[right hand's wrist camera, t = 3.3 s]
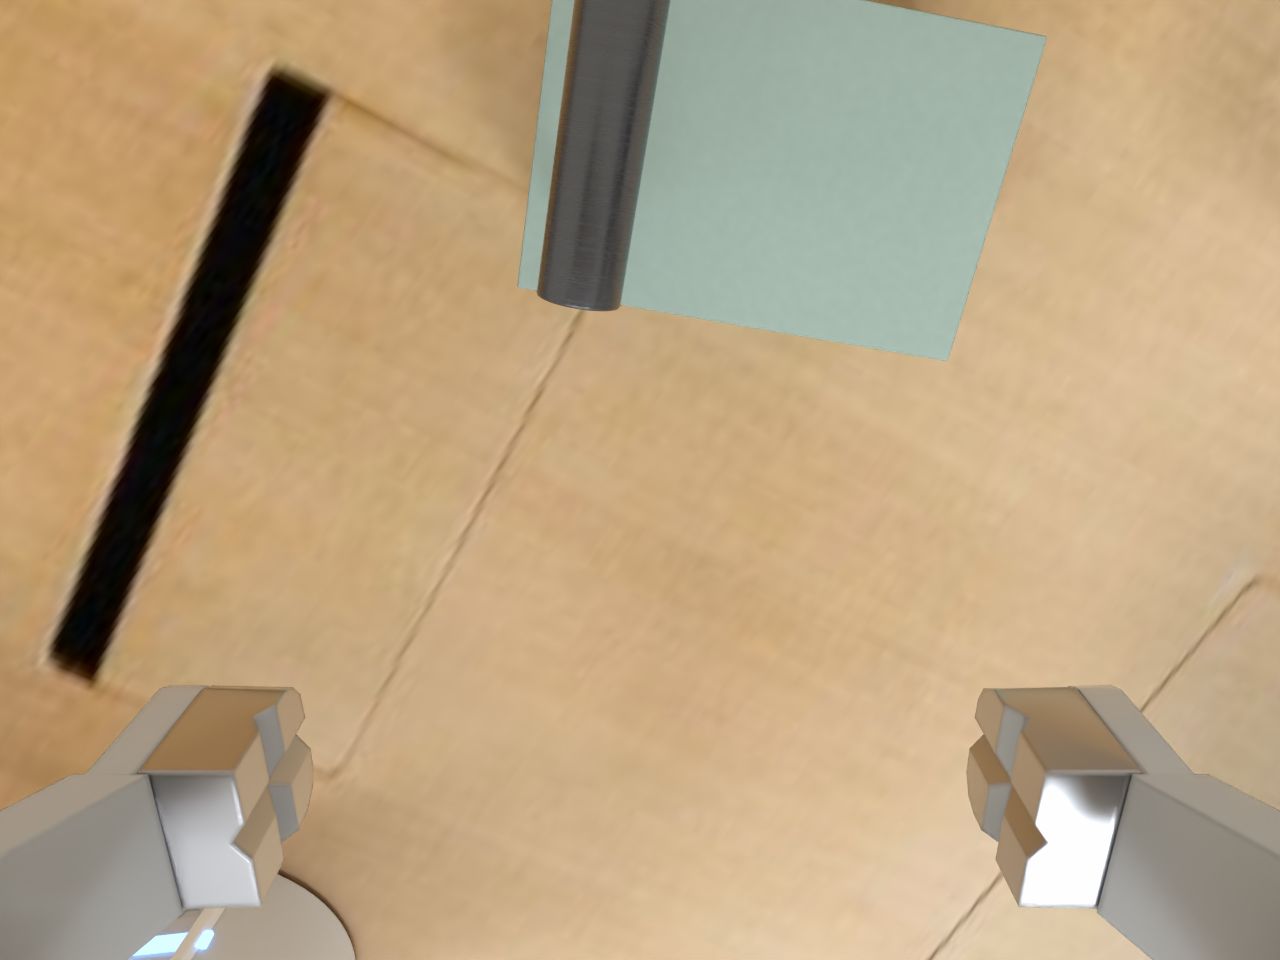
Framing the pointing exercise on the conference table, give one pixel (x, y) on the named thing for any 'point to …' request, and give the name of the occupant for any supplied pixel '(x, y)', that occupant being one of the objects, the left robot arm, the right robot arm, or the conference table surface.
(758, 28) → the lid
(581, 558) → the conference table surface
